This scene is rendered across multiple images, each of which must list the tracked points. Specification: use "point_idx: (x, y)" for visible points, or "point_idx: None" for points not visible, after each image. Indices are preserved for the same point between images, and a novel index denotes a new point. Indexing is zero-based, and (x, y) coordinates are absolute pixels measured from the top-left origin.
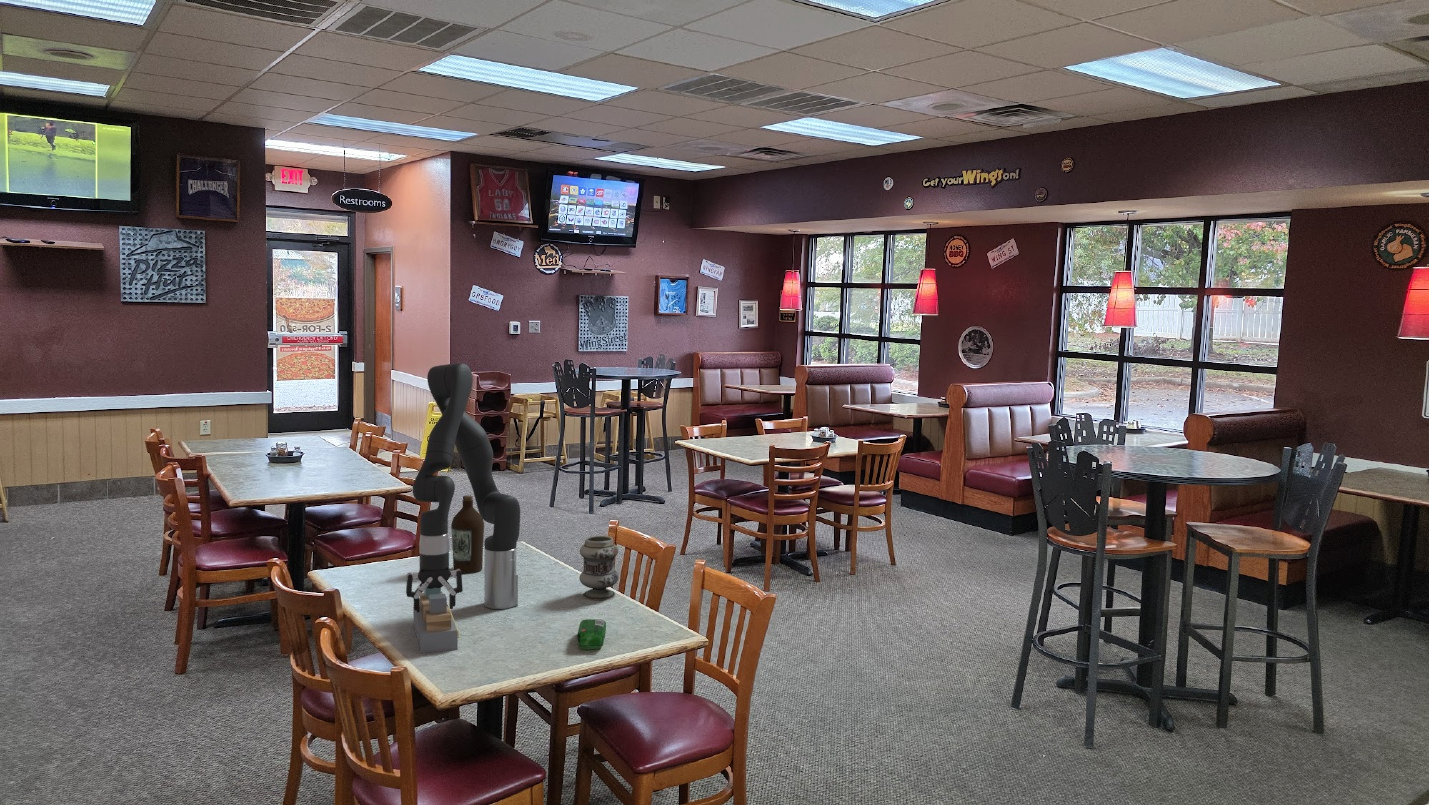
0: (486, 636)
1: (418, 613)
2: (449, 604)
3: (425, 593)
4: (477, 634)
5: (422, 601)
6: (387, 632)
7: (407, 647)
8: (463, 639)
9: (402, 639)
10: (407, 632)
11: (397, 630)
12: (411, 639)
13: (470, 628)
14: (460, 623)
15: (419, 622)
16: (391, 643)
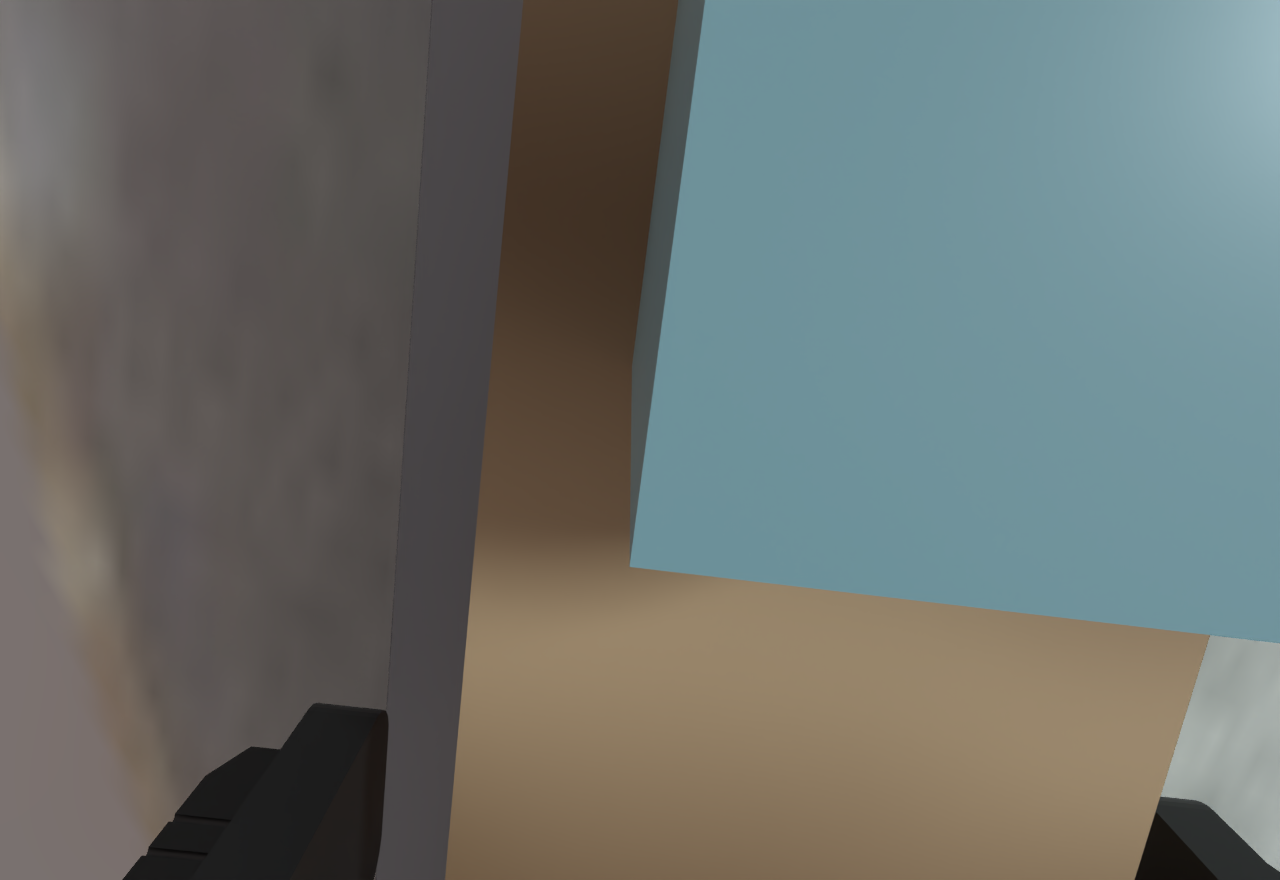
0: (1277, 815)
1: (485, 268)
2: (1163, 839)
3: (632, 405)
4: (1215, 706)
5: (478, 616)
6: (82, 80)
7: None
8: None
9: (271, 490)
10: (374, 219)
11: (239, 49)
12: (387, 540)
13: None
14: None
15: (410, 818)
16: (118, 581)
